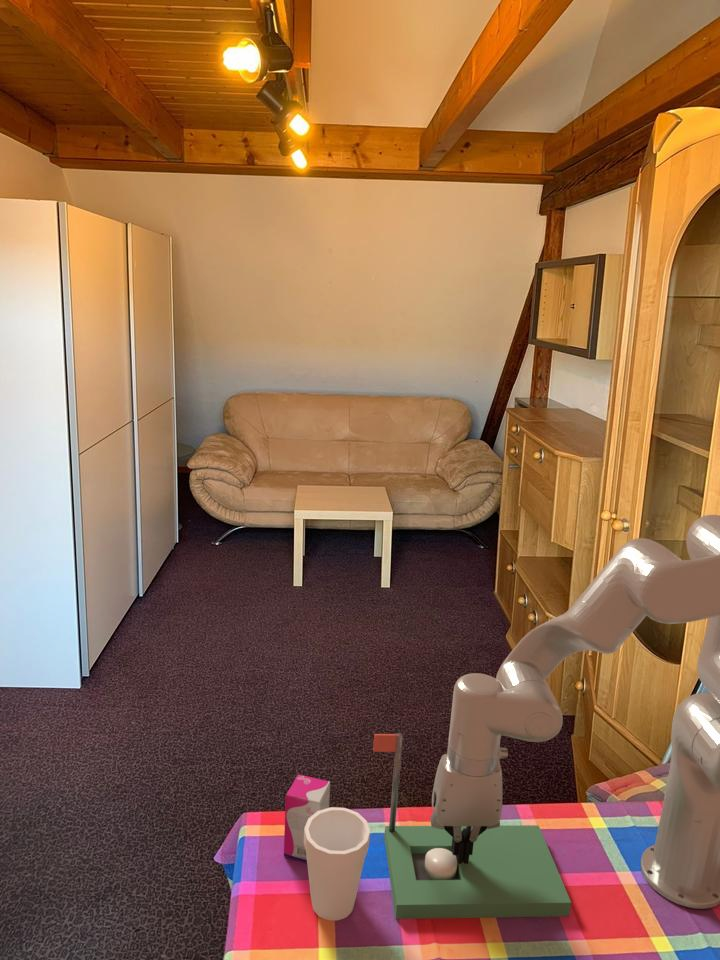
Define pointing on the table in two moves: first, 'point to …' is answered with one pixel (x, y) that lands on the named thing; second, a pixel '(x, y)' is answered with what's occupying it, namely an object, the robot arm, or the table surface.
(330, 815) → the foam cup
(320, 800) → the supplement box
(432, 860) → the cream rounded stone
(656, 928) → the table surface
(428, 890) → the putting mat
